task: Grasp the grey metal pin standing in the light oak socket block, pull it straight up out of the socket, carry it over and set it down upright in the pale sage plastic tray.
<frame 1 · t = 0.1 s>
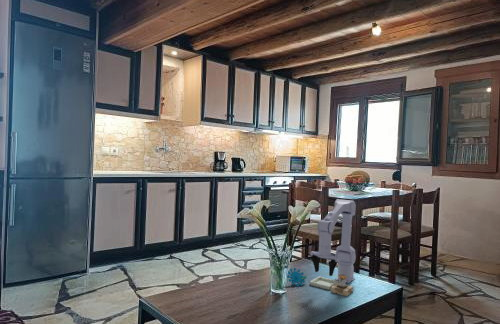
hand: (323, 273, 169), 10 cm above the table, fingers open, 7 cm apart
tray: (324, 284, 182), on the table
socket block: (341, 291, 173), on the table
blue spiky virus model: (296, 284, 182), on the table
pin: (342, 283, 173), in the socket block
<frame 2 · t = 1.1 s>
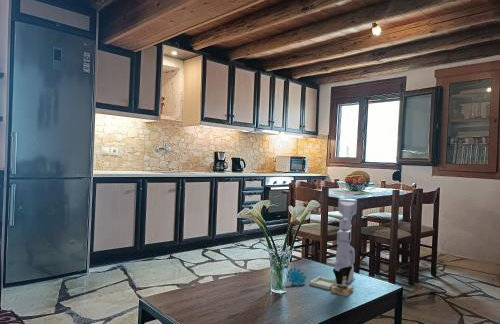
hand: (342, 282, 173), 5 cm above the table, fingers open, 7 cm apart
nothing on the table moved.
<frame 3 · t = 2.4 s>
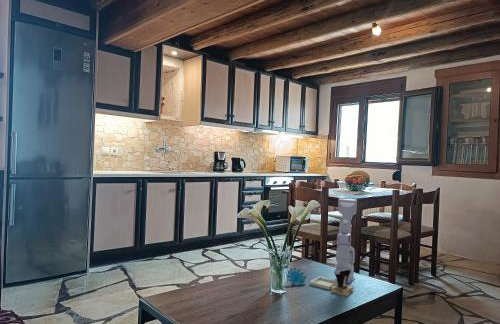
hand: (342, 285, 173), 3 cm above the table, fingers closed on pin, 4 cm apart
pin: (342, 283, 173), in the socket block, touching gripper
everything else where it was.
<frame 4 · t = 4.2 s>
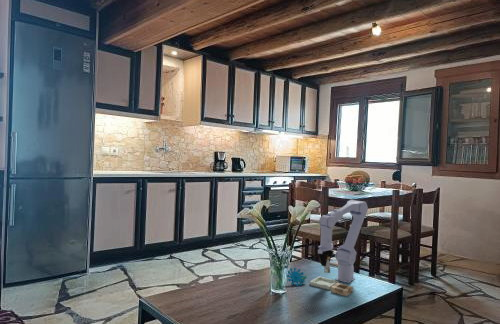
hand: (325, 264, 182), 10 cm above the table, fingers closed on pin, 4 cm apart
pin: (326, 264, 181), point 11 cm above the table, tilted 8°, touching gripper
everything else where it was.
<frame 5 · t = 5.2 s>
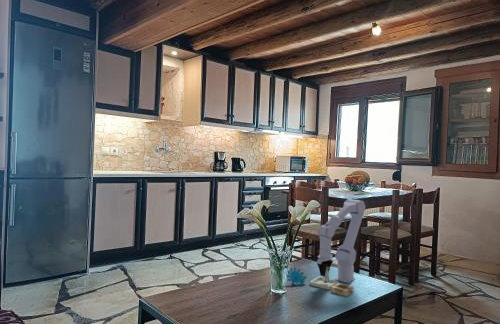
hand: (324, 274, 182), 5 cm above the table, fingers closed on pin, 4 cm apart
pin: (325, 274, 182), point 6 cm above the table, tilted 8°, touching gripper
everything else where it was.
when the fingers open (5 cm above the table, at t = 6.1 s): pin stays where it is, resting on tray.
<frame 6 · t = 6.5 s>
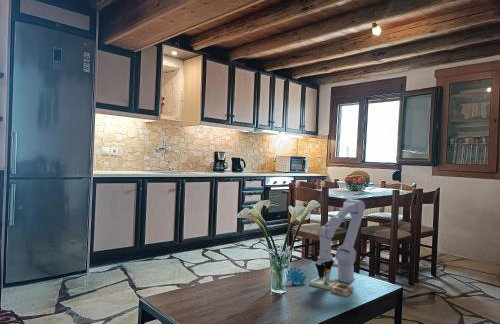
hand: (324, 275, 182), 5 cm above the table, fingers open, 7 cm apart
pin: (326, 276, 181), in the tray
everything else where it was.
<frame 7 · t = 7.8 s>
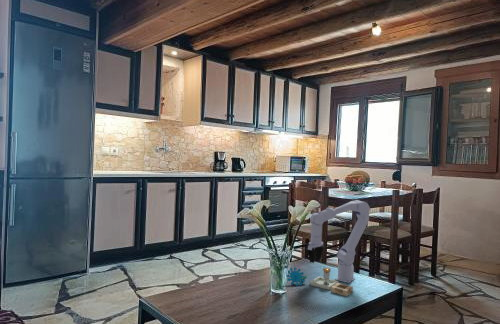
hand: (315, 260, 189), 10 cm above the table, fingers open, 7 cm apart
nothing on the table moved.
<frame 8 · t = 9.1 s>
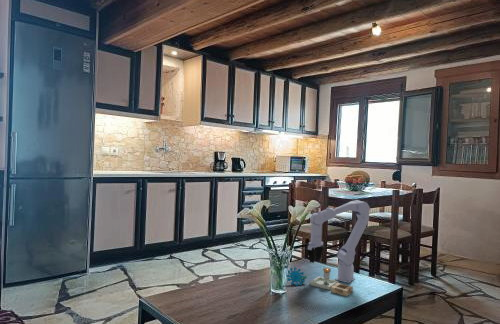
hand: (315, 260, 189), 10 cm above the table, fingers open, 7 cm apart
nothing on the table moved.
at the end: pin inside the target area on the tray (1.3 cm from its centre), point 4.5 cm above the tray's base; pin tilted 0°; the gripper is holding nothing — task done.
